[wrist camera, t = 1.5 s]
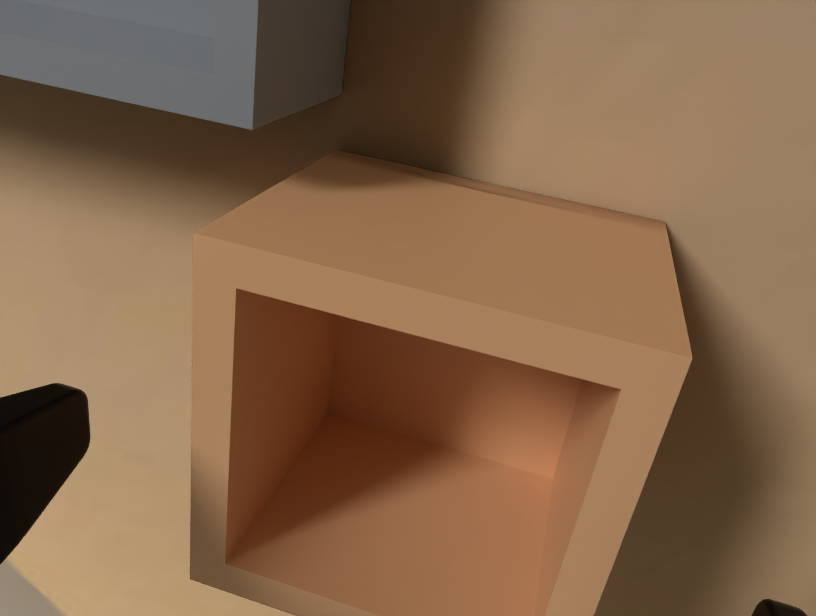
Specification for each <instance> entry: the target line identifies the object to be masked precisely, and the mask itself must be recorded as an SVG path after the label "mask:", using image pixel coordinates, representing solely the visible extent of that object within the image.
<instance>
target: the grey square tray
mask: <svg viewBox="0 0 816 616" xmlns="http://www.w3.org/2000/svg"><path fill="white" fill-rule="evenodd" d="M350 4H351V0H0V75H4V76H9V77H13V78H18V79H22V80H27V81H31V82H36V83H41V84H45V85H50V86H54V87H59V88H63V89H68V90H72V91H77V92H82V93H86V94H91V95H95V96H100V97H104V98H109V99H113V100H118V101H123V102H127V103H132V104H136V105H141V106H145V107H150V108H154V109H159V110H164V111H168V112H173V113H177V114H182V115H186V116H191V117H195V118H200V119H205V120H209V121H214V122H218V123H223V124H227V125H232V126H236V127H241V128H245V129H250V130H254V129H256V128H259V127H261V126H264V125H266V124H269V123H271V122H274V121H276V120H279V119H281V118H284V117H286V116H289V115H291V114H294V113H296V112H299V111H301V110H304V109H306V108H309V107H312V106H314V105H317V104H319V103H322V102H324V101H327V100H329V99H332V98H334V97H337V96H339V95H341V93H342V83H343V73H344V63H345V54H346V44H347V34H348V24H349V14H350Z"/></svg>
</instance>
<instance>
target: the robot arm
mask: <svg viewBox="0 0 816 616" xmlns="http://www.w3.org/2000/svg"><path fill="white" fill-rule="evenodd" d="M89 443H90V424H89V410H88V399H87V396H86V394H85V393H84V392H83V391H82V390H80V389H77V388H74V387H71V386H68V385H64V384H60V383H53V384H49V385H45V386H42V387H38V388H34V389H31V390H27V391H23V392H19V393H16V394H12V395H8V396H5V397H1V398H0V564H1V563H2V562H3V561H4V560H5V559H6V558H7V557H8V555H9V554H10V553H11V552H12V551H13V550H14V548H15V547H16V546H17V545H18V544H19V542H20V541H21V540H22V539H23V537H24V536H25V535H26V534H27V532H28V531H29V530H30V528H31V527H32V526H33V524H34V523H35V522H36V520H37V519H38V518H39V516H40V515H41V513H42V512H43V511H44V509H45V508H46V507H47V505H48V504H49V503H50V501H51V500H52V499H53V497H54V496H55V495H56V493H57V492H58V490H59V489H60V488H61V486H62V485H63V484H64V482H65V481H66V480H67V478H68V477H69V476H70V474H71V473H72V472H73V470H74V469H75V467H76V466H77V465H78V463H79V462H80V461H81V459H82V458H83V457H84V455H85V453H86V451H87V449H88V447H89ZM752 616H807V615H806V614H805V613H804V612H803V611H802V610H801V609H799V608H797V607H794V606H791V605H788V604H784V603H781V602H778V601H774V600H771V599H764V600H762V601H761V602H760V603H759V604H758V605H757V606H756V608H755V610H754V612H753V614H752Z"/></svg>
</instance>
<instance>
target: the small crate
mask: <svg viewBox="0 0 816 616" xmlns="http://www.w3.org/2000/svg"><path fill="white" fill-rule="evenodd" d="M692 359H693V357H692V352H691V347H690V342H689V338H688V333H687V328H686V323H685V318H684V313H683V308H682V303H681V298H680V293H679V288H678V283H677V278H676V273H675V268H674V263H673V258H672V253H671V249H670V244H669V239H668V234H667V229H666V224H665V222H663V221H659V220H654V219H649V218H645V217H640V216H636V215H631V214H627V213H622V212H618V211H613V210H609V209H604V208H599V207H595V206H590V205H586V204H581V203H577V202H572V201H568V200H563V199H559V198H554V197H549V196H545V195H540V194H536V193H531V192H527V191H522V190H518V189H513V188H508V187H504V186H499V185H495V184H490V183H486V182H481V181H477V180H472V179H468V178H463V177H458V176H454V175H449V174H445V173H440V172H436V171H431V170H427V169H422V168H418V167H413V166H408V165H404V164H399V163H395V162H390V161H386V160H381V159H377V158H372V157H368V156H363V155H358V154H354V153H349V152H345V151H340V150H334V151H333V152H331V153H329V154H327V155H326V156H324V157H322V158H321V159H319V160H317V161H315V162H314V163H312V164H310V165H309V166H307V167H305V168H303V169H302V170H300V171H298V172H297V173H295V174H293V175H291V176H290V177H288V178H286V179H285V180H283V181H281V182H279V183H278V184H276V185H274V186H273V187H271V188H269V189H267V190H266V191H264V192H262V193H261V194H259V195H257V196H256V197H254V198H252V199H250V200H249V201H247V202H245V203H244V204H242V205H240V206H238V207H237V208H235V209H233V210H232V211H230V212H228V213H226V214H225V215H223V216H221V217H220V218H218V219H216V220H214V221H213V222H211V223H209V224H208V225H206V226H204V227H202V228H201V229H199V230H197V231H196V232H194V233H193V315H192V418H191V522H190V579H191V580H194V581H197V582H200V583H203V584H206V585H209V586H212V587H215V588H217V589H220V590H223V591H226V592H229V593H232V594H235V595H238V596H241V597H244V598H246V599H249V600H252V601H255V602H258V603H261V604H264V605H267V606H270V607H273V608H275V609H278V610H281V611H284V612H287V613H290V614H293V615H296V616H594V614H595V611H596V608H597V606H598V603H599V601H600V598H601V595H602V593H603V590H604V588H605V585H606V582H607V580H608V577H609V575H610V572H611V569H612V567H613V564H614V562H615V559H616V556H617V554H618V551H619V549H620V546H621V543H622V541H623V538H624V536H625V533H626V530H627V528H628V525H629V522H630V520H631V517H632V515H633V512H634V509H635V507H636V504H637V502H638V499H639V496H640V494H641V491H642V489H643V486H644V483H645V481H646V478H647V476H648V473H649V470H650V468H651V465H652V463H653V460H654V457H655V455H656V452H657V450H658V447H659V444H660V442H661V439H662V437H663V434H664V431H665V429H666V426H667V424H668V421H669V418H670V416H671V413H672V411H673V408H674V405H675V403H676V400H677V398H678V395H679V392H680V390H681V387H682V385H683V382H684V379H685V377H686V374H687V372H688V369H689V366H690V364H691V361H692Z"/></svg>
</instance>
